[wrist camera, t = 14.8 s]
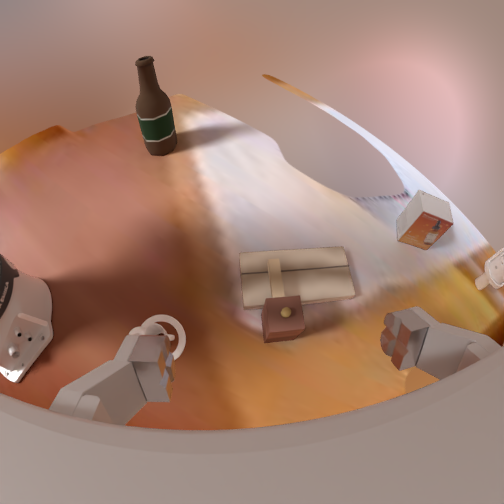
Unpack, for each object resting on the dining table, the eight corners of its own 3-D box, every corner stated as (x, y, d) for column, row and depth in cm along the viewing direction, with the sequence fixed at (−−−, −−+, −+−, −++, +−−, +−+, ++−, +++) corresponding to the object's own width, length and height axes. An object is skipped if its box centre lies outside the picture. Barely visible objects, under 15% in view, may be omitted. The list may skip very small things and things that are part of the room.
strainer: (490, 288, 45) (531, 259, 32) (480, 303, 43) (525, 275, 30) (476, 265, 48) (515, 232, 34) (465, 279, 46) (509, 246, 33)
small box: (396, 241, 49) (422, 210, 40) (395, 219, 52) (418, 188, 43) (426, 251, 49) (454, 224, 39) (424, 230, 51) (449, 201, 42)
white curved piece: (126, 346, 38) (116, 342, 34) (148, 305, 42) (140, 296, 38) (173, 373, 37) (166, 371, 33) (194, 328, 40) (190, 322, 37)
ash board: (351, 298, 43) (355, 294, 41) (243, 309, 42) (243, 305, 40) (339, 252, 47) (343, 246, 46) (239, 258, 46) (239, 252, 44)
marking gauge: (293, 339, 40) (306, 327, 32) (264, 343, 39) (270, 331, 32) (283, 271, 45) (292, 245, 37) (256, 273, 45) (260, 247, 37)
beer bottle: (184, 142, 60) (171, 52, 39) (162, 160, 57) (141, 67, 36) (162, 133, 62) (146, 50, 41) (140, 151, 58) (117, 65, 37)
